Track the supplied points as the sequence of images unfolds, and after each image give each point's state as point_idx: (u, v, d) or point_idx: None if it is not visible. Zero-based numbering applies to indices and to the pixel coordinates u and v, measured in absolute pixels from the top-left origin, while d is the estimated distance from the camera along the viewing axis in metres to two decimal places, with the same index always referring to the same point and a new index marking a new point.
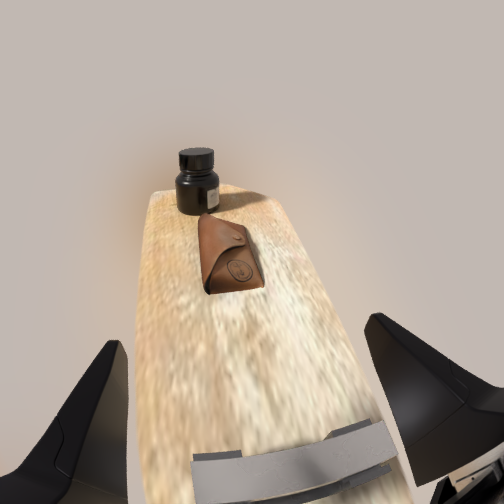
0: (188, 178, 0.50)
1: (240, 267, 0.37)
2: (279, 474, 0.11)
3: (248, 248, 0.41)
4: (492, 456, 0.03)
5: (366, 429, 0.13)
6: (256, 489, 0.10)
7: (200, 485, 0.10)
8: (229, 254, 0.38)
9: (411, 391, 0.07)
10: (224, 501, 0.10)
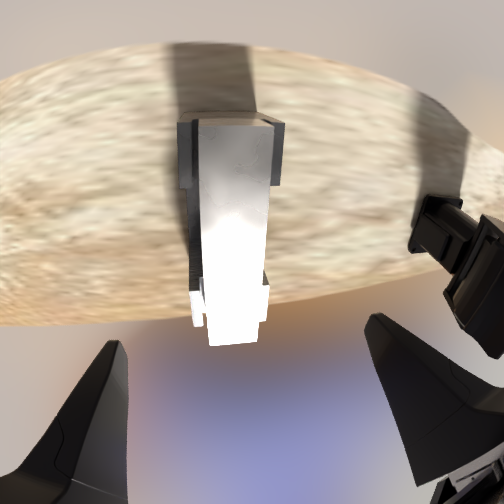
0: None
1: None
2: (236, 283, 0.13)
3: None
4: (492, 456, 0.03)
5: (203, 162, 0.10)
6: (248, 303, 0.14)
7: (236, 339, 0.16)
8: None
9: (411, 391, 0.07)
10: (256, 325, 0.15)
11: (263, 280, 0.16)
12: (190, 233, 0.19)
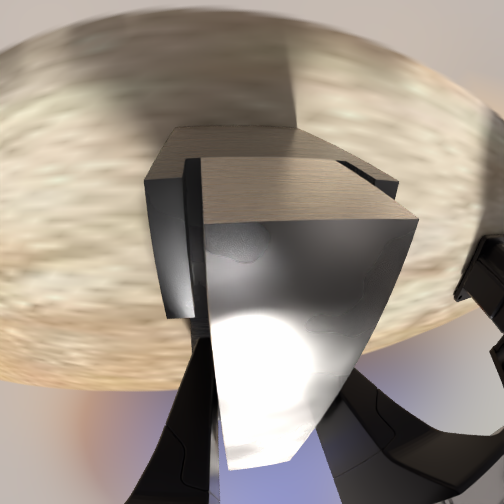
0: None
1: None
2: (273, 438, 0.07)
3: None
4: None
5: (225, 320, 0.04)
6: (287, 446, 0.08)
7: (264, 464, 0.09)
8: None
9: (331, 420, 0.06)
10: (293, 454, 0.09)
11: None
12: None
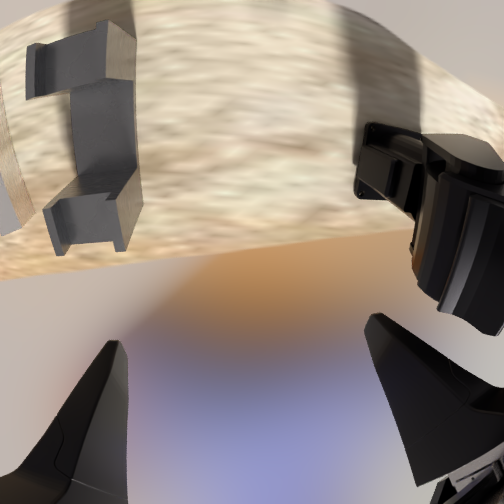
0: None
1: None
2: None
3: None
4: (492, 456, 0.03)
5: None
6: (1, 191, 0.13)
7: (10, 227, 0.15)
8: None
9: (411, 391, 0.07)
10: (13, 210, 0.14)
11: (113, 196, 0.12)
12: (78, 168, 0.16)
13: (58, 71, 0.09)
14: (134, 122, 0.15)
